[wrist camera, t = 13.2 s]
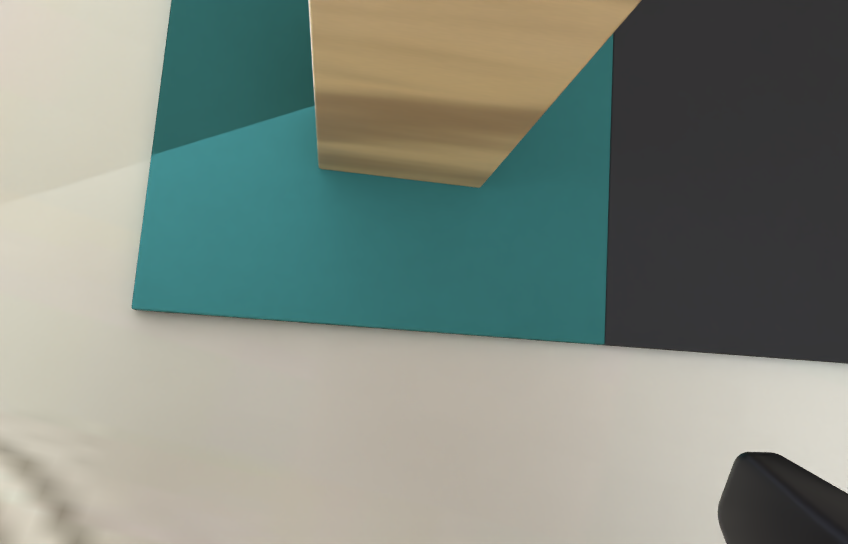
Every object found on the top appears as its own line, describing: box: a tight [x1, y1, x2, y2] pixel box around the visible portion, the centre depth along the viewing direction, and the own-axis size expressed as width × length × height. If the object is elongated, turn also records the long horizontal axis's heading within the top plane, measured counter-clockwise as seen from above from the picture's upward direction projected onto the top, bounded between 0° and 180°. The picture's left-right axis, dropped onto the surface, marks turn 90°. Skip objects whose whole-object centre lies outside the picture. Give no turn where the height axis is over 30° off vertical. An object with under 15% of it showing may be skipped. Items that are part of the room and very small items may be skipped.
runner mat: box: [132, 0, 848, 363], centre depth 22 cm, size 14×30×1 cm, turn 86°
